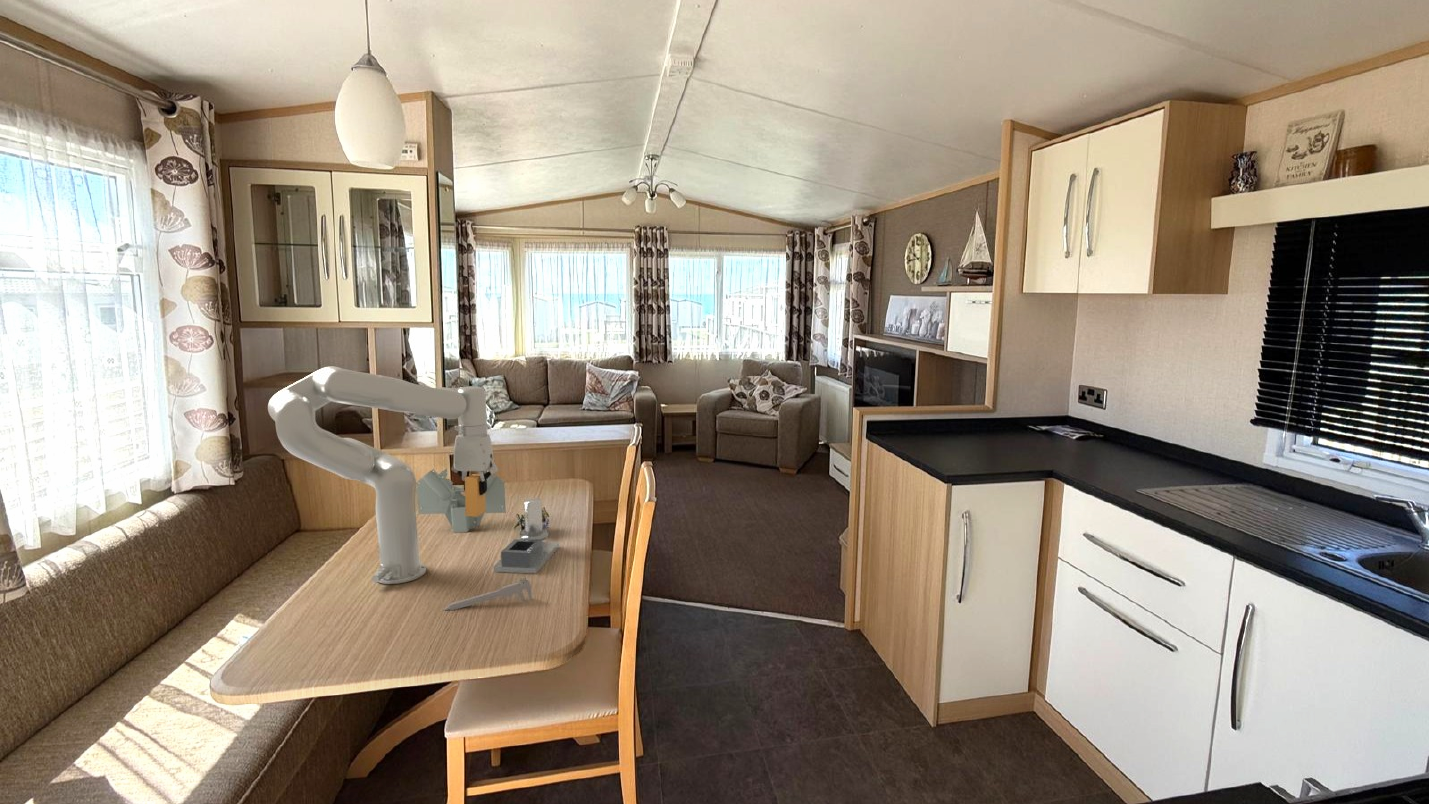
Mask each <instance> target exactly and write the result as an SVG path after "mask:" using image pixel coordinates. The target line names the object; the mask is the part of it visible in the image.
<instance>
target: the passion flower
mask: <svg viewBox="0 0 1429 804" xmlns="http://www.w3.org/2000/svg"><path fill="white" fill-rule="evenodd" d="M515 516H516V518H517V520H518V521H517V523H516V524H515V525H514V527H513V529H514V530H515V529H516V528H517V527H519V526H520V530H519V535H520V534H521V533H522V532H523V531H524V530H525V513H524V514H521V515H520V514H519V513H515ZM520 516H521V517H520ZM549 518H550V514H549V512H548V511H547V510H546V507H542V529H543V530H546V531H547V529H549V528H550V526H549V524H550V519H549Z"/></svg>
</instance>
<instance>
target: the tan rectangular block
mask: <svg viewBox="0 0 1429 804" xmlns="http://www.w3.org/2000/svg"><path fill="white" fill-rule="evenodd" d="M479 481H480V475H479V474H474V473H472V474H470V476H468V477H466V478H465V492H464V496H465V511H466V516H475V517H478V516H479V515H481V514H483V513H484V512H485V493H484V494H483V495H480V494H479ZM484 514H485V513H484Z"/></svg>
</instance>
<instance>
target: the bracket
mask: <svg viewBox="0 0 1429 804" xmlns="http://www.w3.org/2000/svg"><path fill="white" fill-rule="evenodd" d="M487 471H489V469H488V470H487ZM477 473H478V474H479V472H477ZM447 477H448V467H445V468H444V469H443V470H442V471H441V472H440V473H438V472H437V471H436V469H434V468H432V469H431V470H430V471H429V472H427V473H426V474H425V475H424V476H422V477H421V478H420V479H418V480H416V499H417V500H416V501H417V513H418V515H439V514H440V515H444V516H445V518H446V519H447V521H448V522H449V524H450V526H451V529H452V533H468V532H469V531H470V530H474V529H476V528H475V527H480V524H481V523H482V519H483V517H484V515H485V514H500V513H503V514H506V513H507V511H506V510H507V507H506V493H505V492H506V490H505V489H506V488H505V487H506V486H505V480H503V479H502V478H500V477H499V476H497V475H496V476H495V475H494V474H492V475H491V476H490V477H489V478H488V479H487V491H486V493H485V512H484V513H483V514H481V515H479V516H478V517H475V516H466V511H465V494H462V493H465V490H464V487H463V486H462V485H459V484H458V485H457V484H455V485H453V484H454V483H453V481H452V480H451V479H450V478H447Z"/></svg>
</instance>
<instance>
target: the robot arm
mask: <svg viewBox="0 0 1429 804" xmlns="http://www.w3.org/2000/svg"><path fill="white" fill-rule="evenodd" d="M486 396H487V395H486V390H485V388H484V387H482V386H476V385H470V386H462V387H442V386H441V387H440V386H439V387H430V386H426V385H425V386H424V385H420V384H416V383H412V382H409V381H406V380H404V379H401V378H396V377H392V376H387V375H386V376H385V375H380V374H374V373H368V372H362V371H358V370H351V369H345V368H341V367H338V366H332V365H330V366H325V367H322V368H320V369H318V370H316V371H314V372H312V373H311V374H309V375H307V376H305V377H304V378H302V379H299V380H297V381H296V382H294V383H293V384H290V385H288V386H287V387H284V388H283V389H281V390H279V391H278V392H276V393H275V394H274V395H273V396H272V397H271V398H270V399H269V401H268V404H267V412H268V415H269V417H270V418H271V419H272V420H273V421H274V422H275V431H276V436H277V438H278V440H279V442H280V444H281V445H282V447H283V448H284V449H285V451H287V452H288V453H289V454H290V455H292V456H294V457H296V458H297V459H300V460H302V461H306V462H307V463H309V464H313V465H314V466H316V467H318V468H321V469H324V470H326V471H327V472H330V473H333V474H335V475H337V476H338V477H340V478H343V479H345V480H346V479H347V480H356V481H359V482H361V483H364V484H366V485H368V486H371V487H372V488H373V489H374V490H375V521H376V528H377V529H376V532H377V542H378V554H379V564H380V565H378V568H379V569H378V570H377V571H376V572H375V573H374V574H373V575H372V576H371V581H372V582H373V583H379V584H382V585H383V584H384V585H398V584H404V583H407V582H410V581H411V582H412V581H414V580H416V579H419V578H421V577H423V576H424V574H426V572H427V566H426V564H424V563H423V562H421V561H420V551H419V538H418V526H417V524H418V523H417V514H416V512H417V511H416V492H417V488H416V482H417V479H416V475H415V472H414V470H413V469H412V467H410V466H409V464H408V463H406V462H404V461H402V460H401V459H399V458H398V457H395V456H394V455H392V454H389V453H387V452H386V451H385V452H384V451H382V450H380V449H377V448H375V447H373V446H371V445H369V444H367V443H364V442H361V441H360V440H357V439H355V438H351V437H341V436H339V435H336V434H334V433H333V432H330V431H328V430H326V429H323V428H322V427H320V426H319V425H318V424H317V423H318V422H316V421H317V420H316V411H317V410H319V409H321V408H322V407H324V406H326V405H327V404H329V403H331V402H332V403H338V404H343V405H344V404H345V405H350V406H357V407H358V406H360V407H366V408H373V409H378V410H379V409H380V410H386V411H392V412H395V413H396V412H398V413H407V414H414V415H419V416H425V417H431V418H432V417H433V418H439V419H440V418H441V419H446V420H447V419H448V420H452V419H453V420H454V419H457V418H458V424H457V425H455V426H454V428H453V429H454V431H457V432H458V433H457V434H458V435H457V434H456V435H455V441H454V447H453V464H452V466H451V468H450V470H451V471H452V472H453V473H456V474H457V475H458V476H459V477H460V479H461V480H462V481H463V488H464V490H465V478H466V477H468V476H470V475H471V472H476V473H478V472H479V475H480V481H479V494H480V495H483V494H484V493H486V491H487V479H488V478H489V477H490V476H491V475H494V474H495V473H497V472H498V471H499V468H498V466H497V465H496V463H495V459H494V449H493V444H492V440H491V436H490V434H489V433H488V423H487V421H488V418H487V397H486ZM489 469H490V470H489ZM487 470H488V471H487Z"/></svg>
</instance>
